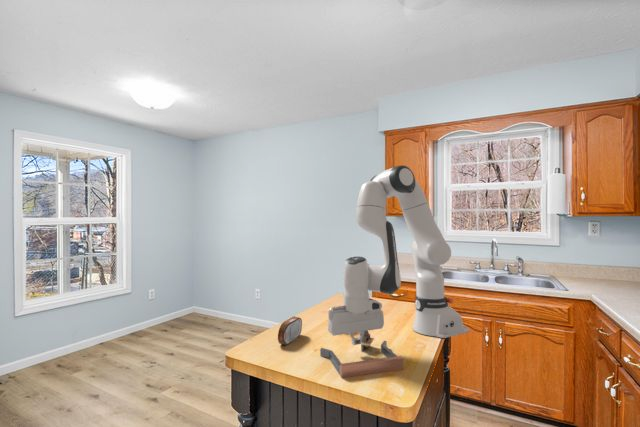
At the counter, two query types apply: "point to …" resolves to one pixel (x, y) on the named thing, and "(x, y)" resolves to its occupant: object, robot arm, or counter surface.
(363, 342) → the grey irregular piece
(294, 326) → the tin
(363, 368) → the brown drawer handle
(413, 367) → the counter surface
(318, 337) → the counter surface
